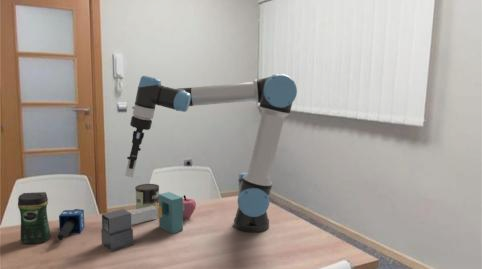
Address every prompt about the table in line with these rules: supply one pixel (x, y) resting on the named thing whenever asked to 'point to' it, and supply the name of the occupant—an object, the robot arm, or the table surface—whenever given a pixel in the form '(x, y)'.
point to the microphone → (70, 222)
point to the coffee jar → (33, 217)
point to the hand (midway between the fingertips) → (130, 171)
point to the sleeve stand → (117, 230)
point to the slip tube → (140, 215)
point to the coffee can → (147, 196)
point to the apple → (188, 207)
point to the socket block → (171, 212)
